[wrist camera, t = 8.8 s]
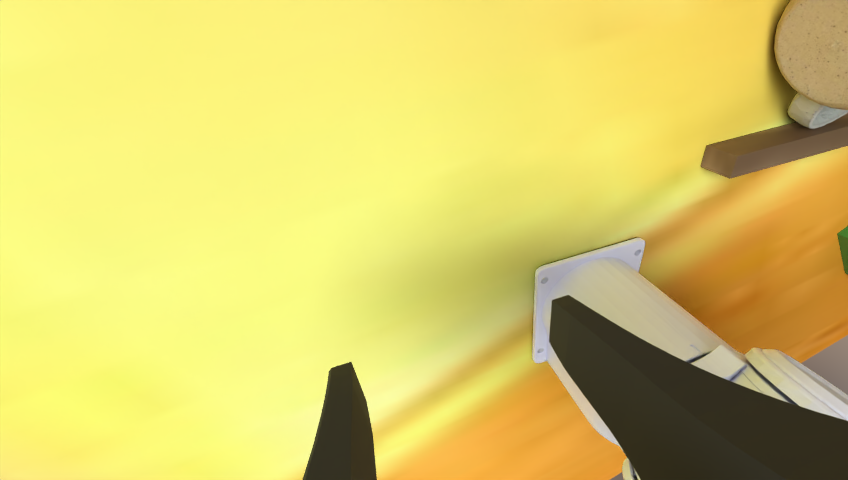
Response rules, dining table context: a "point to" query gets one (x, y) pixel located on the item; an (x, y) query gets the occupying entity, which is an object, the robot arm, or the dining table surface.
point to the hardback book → (844, 247)
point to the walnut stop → (774, 147)
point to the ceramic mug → (814, 59)
